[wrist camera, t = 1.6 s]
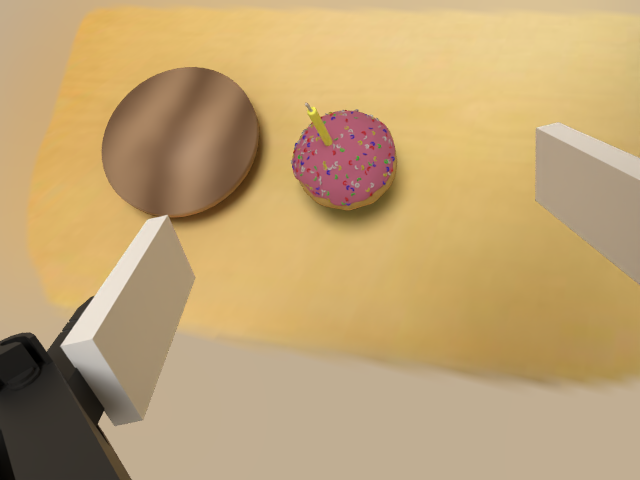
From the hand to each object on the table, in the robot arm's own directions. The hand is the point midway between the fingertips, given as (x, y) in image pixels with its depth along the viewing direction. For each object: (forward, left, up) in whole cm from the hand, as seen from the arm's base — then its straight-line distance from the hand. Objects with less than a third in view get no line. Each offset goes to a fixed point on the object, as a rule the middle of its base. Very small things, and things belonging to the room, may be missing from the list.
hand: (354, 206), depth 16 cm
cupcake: (+3, -10, -23) cm, 25 cm away
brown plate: (+19, -12, -23) cm, 32 cm away
